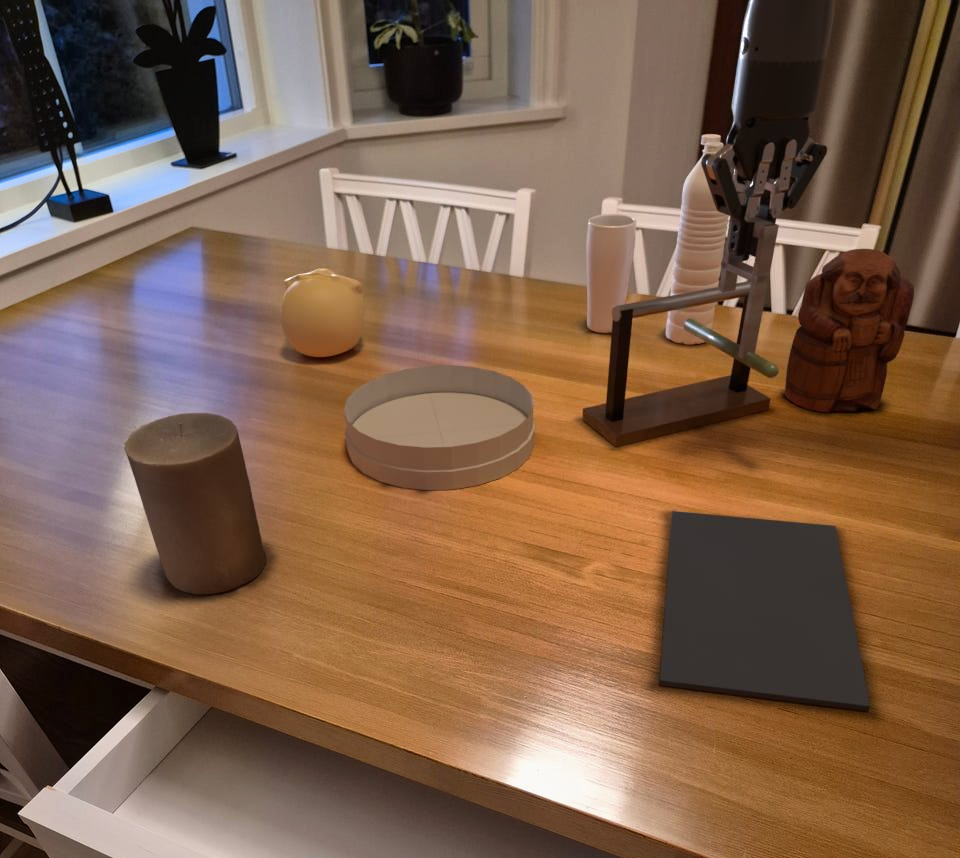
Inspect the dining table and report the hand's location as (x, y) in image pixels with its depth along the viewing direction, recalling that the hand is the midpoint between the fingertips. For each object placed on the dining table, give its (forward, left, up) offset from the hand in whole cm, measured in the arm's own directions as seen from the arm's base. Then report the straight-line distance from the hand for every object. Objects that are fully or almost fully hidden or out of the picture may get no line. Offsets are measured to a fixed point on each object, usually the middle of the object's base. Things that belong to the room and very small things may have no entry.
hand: (748, 256), depth 87 cm
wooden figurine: (-19, +3, -21) cm, 29 cm away
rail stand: (-2, -8, -21) cm, 22 cm away
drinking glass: (-17, -34, -21) cm, 43 cm away
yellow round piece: (+18, -56, -21) cm, 62 cm away
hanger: (0, 0, -10) cm, 10 cm away
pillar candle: (+56, -17, -21) cm, 62 cm away
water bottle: (-24, -24, -21) cm, 40 cm away
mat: (+22, +21, -21) cm, 37 cm away
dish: (+24, -22, -21) cm, 38 cm away
